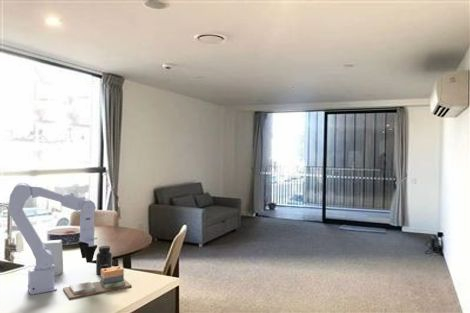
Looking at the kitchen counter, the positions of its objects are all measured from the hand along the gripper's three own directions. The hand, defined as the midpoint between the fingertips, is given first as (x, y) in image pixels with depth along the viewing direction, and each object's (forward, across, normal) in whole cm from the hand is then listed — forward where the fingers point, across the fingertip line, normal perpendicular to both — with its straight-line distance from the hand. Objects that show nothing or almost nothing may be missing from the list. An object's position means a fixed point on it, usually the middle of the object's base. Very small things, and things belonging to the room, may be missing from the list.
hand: (87, 259), depth 161 cm
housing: (+8, -9, -8) cm, 14 cm away
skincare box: (+10, +22, +10) cm, 26 cm away
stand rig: (+10, -9, -2) cm, 14 cm away
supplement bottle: (+10, +10, -10) cm, 17 cm away
